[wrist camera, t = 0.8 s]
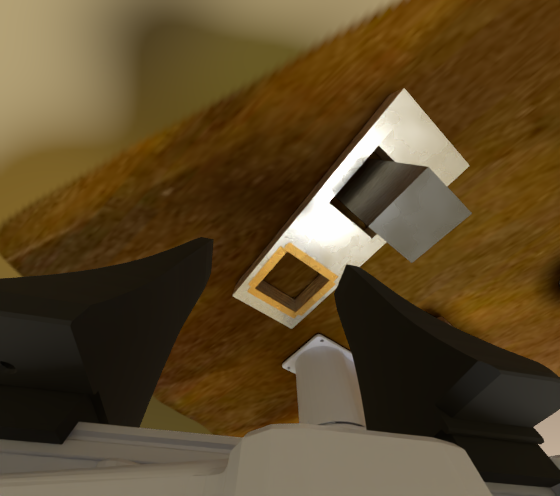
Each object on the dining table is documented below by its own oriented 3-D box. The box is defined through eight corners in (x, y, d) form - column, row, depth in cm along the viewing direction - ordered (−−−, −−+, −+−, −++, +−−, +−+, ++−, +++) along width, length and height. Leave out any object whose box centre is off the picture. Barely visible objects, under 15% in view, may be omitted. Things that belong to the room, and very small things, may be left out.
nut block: (397, 187, 19) (471, 213, 11) (364, 220, 20) (411, 262, 13) (367, 158, 17) (428, 166, 10) (334, 195, 19) (368, 226, 12)
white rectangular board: (450, 163, 18) (471, 165, 16) (291, 316, 25) (292, 330, 23) (389, 94, 15) (405, 87, 14) (235, 284, 23) (231, 296, 21)
